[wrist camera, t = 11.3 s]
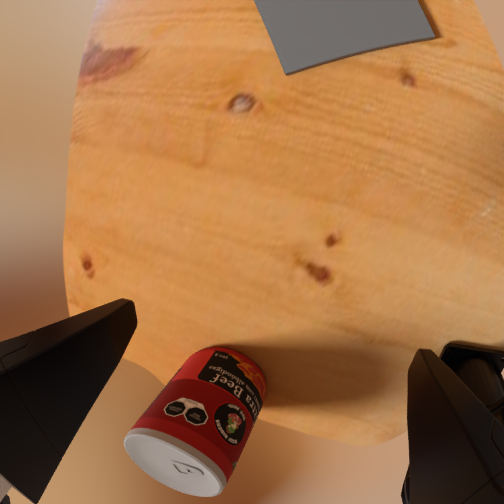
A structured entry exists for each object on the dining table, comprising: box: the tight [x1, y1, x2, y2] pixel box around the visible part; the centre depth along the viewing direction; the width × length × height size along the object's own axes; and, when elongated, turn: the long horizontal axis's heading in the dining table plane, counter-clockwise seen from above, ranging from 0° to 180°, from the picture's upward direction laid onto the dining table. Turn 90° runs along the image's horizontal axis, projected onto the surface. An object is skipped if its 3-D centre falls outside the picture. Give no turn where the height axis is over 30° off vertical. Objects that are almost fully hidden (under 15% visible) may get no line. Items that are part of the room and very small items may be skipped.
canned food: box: [124, 347, 266, 497], centre depth 23 cm, size 8×8×11 cm
